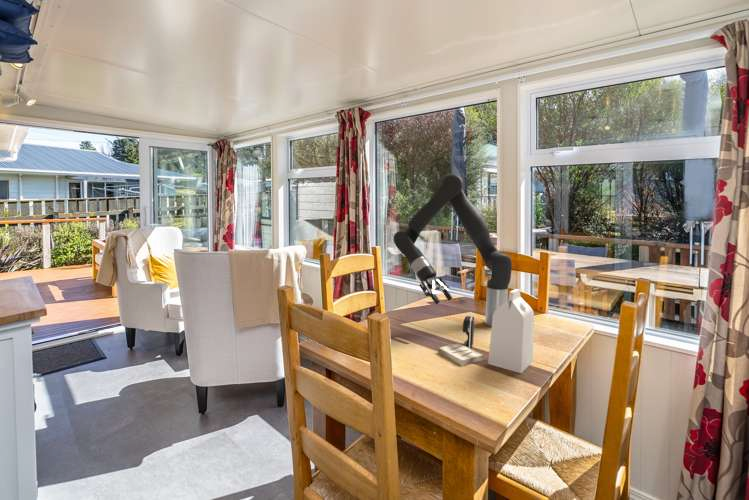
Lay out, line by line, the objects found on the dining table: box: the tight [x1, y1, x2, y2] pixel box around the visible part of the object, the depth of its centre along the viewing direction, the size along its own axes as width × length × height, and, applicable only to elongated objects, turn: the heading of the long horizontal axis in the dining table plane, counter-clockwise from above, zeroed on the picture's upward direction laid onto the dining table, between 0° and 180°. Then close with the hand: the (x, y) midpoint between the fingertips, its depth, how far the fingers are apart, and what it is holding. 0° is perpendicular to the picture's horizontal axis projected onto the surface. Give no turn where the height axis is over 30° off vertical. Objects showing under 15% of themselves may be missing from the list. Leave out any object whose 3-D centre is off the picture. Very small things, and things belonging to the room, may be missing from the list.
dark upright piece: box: [462, 315, 475, 349], centre depth 152 cm, size 7×4×11 cm, turn 161°
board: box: [437, 342, 485, 367], centre depth 142 cm, size 10×13×2 cm
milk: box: [487, 288, 535, 374], centre depth 135 cm, size 12×12×26 cm
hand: (444, 301), depth 159 cm, fingers open, 8 cm apart
